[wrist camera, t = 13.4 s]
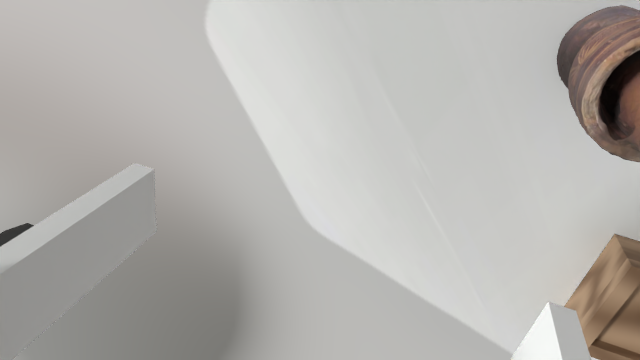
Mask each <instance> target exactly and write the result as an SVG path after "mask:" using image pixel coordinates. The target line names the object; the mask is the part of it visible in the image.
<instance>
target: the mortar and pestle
mask: <svg viewBox="0 0 640 360" xmlns="http://www.w3.org/2000/svg"><path fill="white" fill-rule="evenodd" d="M557 65H558V72H559V76H560V77H561V80H562V81H563V82H564V84H565V86H566V87H567V88H568V90H569V98H570V101H571V105H572V107H573V109H574V111H575V113H576V115H577V117H578V119H579V122H580V124H581V126H582V127H583V128H584V129H585V131H586V133H587V134H588V135H589V136H590V137H591V138H592V139H593V140H594V141H595V142H596V143H597V144H598V145H599V146H600V147H601V148H602V149H604V150H606V151H608V152H609V153H610V154H612V155H616V156H619V157H620V158H622V159H625V160H630V161H636V162H640V10H637V9H633V8H630V7H627V6H623V5H620V6H616V7H608V8H605V9H602V10H599V11H596V12H594V13H592V14H590V15H588V16H586V17H585V18H583V19H582V20H580V21H579V22H577V23H576V24H575V25H574V26H573V27H572V28H571V29H570V30H569V31H568V32H567V33H566V34H565V36H564V38H563V39H562V41H561V44H560V47H559V50H558V55H557Z"/></svg>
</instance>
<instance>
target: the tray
mask: <svg viewBox="0 0 640 360" xmlns="http://www.w3.org/2000/svg"><path fill="white" fill-rule="evenodd" d="M564 307H566V308H569V309H572V310H575V311H576V312H577V316H578V319H579V322H580V325H581V328H582V332H583V335H584V338H585V341H586V344H587V348H588V351H589V354H590V356H591V357H594V358H596V359H599V360H640V242H639V241H636V240H633V239H629V238H626V237H623V236H619V235H616V234H614V236H613V237H612V239H611V240H610V241H609V243H608V244H607V246H606V247H605V249H604V250H603V251H602V253H601V254H600V256H599V257H598V259H597V260H596V262H595V263H594V264H593V266H592V267H591V269H590V270H589V272H588V273H587V275H586V276H585V277H584V279H583V280H582V282H581V283H580V285H579V286H578V288H577V289H576V290H575V292H574V293H573V295H572V296H571V298H570V299H569V300H568V302H567V303H566V305H565V306H564Z"/></svg>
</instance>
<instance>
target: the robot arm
mask: <svg viewBox="0 0 640 360" xmlns="http://www.w3.org/2000/svg"><path fill="white" fill-rule="evenodd" d="M156 231H157V228H156V203H155V175H154V169H152V168H149V167H146V166H143V165H140V164H137V163H134V164H132V165H131V166H129V167H128V168H126V169H124V170H123V171H121V172H120V173H118V174H116V175H115V176H113V177H112V178H110V179H108V180H107V181H105V182H103V183H102V184H100V185H99V186H97V187H96V188H94V189H92V190H91V191H89V192H88V193H86V194H84V195H83V196H81V197H79V198H78V199H76V200H75V201H73V202H72V203H70V204H68V205H67V206H65V207H64V208H62V209H60V210H59V211H57V212H55V213H54V214H52V215H50V216H49V217H48V218H46V219H44V220H42V221H41V222H39V223H38V224H36V225H35V226H34V225H31V224H29V223H26V224H24V225H20V226H18V227H15V228H12V229H9V230H6V231H4V232H2V233H1V234H0V360H12V359H14V358H15V357H16V356H17V355H18V354H19V353H21V351H23V350H24V349H25V348H26V347H27V346H28V345H30V344H31V343H32V342H33V341H34V340H35V339H36V338H37V337H39V336H40V335H41V334H42V333H43V332H44V331H45V330H46V329H47V328H49V327H50V326H51V325H52V324H53V323H54V322H55V321H57V320H58V319H59V318H60V317H61V316H62V315H63V314H64V313H65V312H67V311H68V310H69V309H70V308H71V307H72V306H73V305H75V304H76V303H77V302H78V301H79V300H80V299H81V298H82V297H84V296H85V295H86V294H87V293H88V292H89V291H90V290H91V289H92V288H94V287H95V286H96V285H97V284H98V283H99V282H100V281H102V280H103V279H104V278H105V277H106V276H107V275H108V274H109V273H111V272H112V271H113V270H114V269H115V268H116V267H117V266H118V265H119V264H121V263H122V262H123V261H124V260H125V259H126V258H127V257H128V256H130V254H132V253H133V252H134V251H135V250H136V249H138V248H139V247H140V246H141V245H142V244H143V243H144V242H145V241H147V239H149V238H150V237H151V236H152V235H153V234H154V233H155V232H156ZM510 360H591V357H590V354H589V351H588V348H587V344H586V341H585V338H584V335H583V332H582V328H581V325H580V322H579V319H578V316H577V312H576V311H575V310H572V309H569V308H566V307H563V306H560V305H557V304H554V303H551V302H548V303H547V305H546V306H545V308H544V309H543V311H542V312H541V314H540V315H539V317H538V318H537V320H536V321H535V323H534V324H533V326H532V327H531V329H530V330H529V332H528V333H527V335H526V336H525V338H524V339H523V341H522V342H521V344H520V346H519V347H518V349H517V350H516V352H515V353H514V355H513V356H512V358H511V359H510Z"/></svg>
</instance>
